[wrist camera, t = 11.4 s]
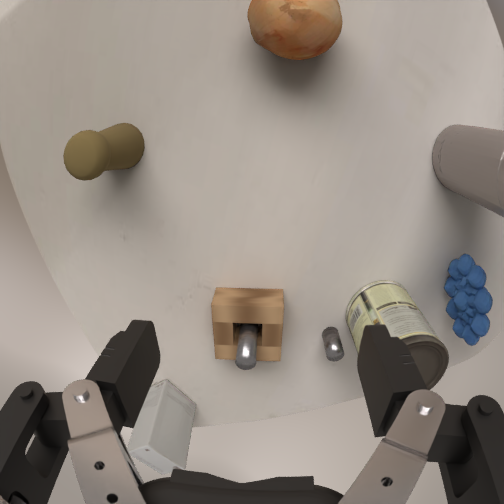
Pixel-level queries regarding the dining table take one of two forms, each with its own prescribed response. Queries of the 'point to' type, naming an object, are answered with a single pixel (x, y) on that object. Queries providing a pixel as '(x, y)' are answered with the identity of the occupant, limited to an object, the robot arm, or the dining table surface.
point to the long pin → (247, 346)
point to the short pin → (332, 344)
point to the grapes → (468, 299)
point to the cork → (103, 151)
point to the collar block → (248, 320)
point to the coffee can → (398, 325)
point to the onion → (295, 26)
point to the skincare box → (163, 429)
